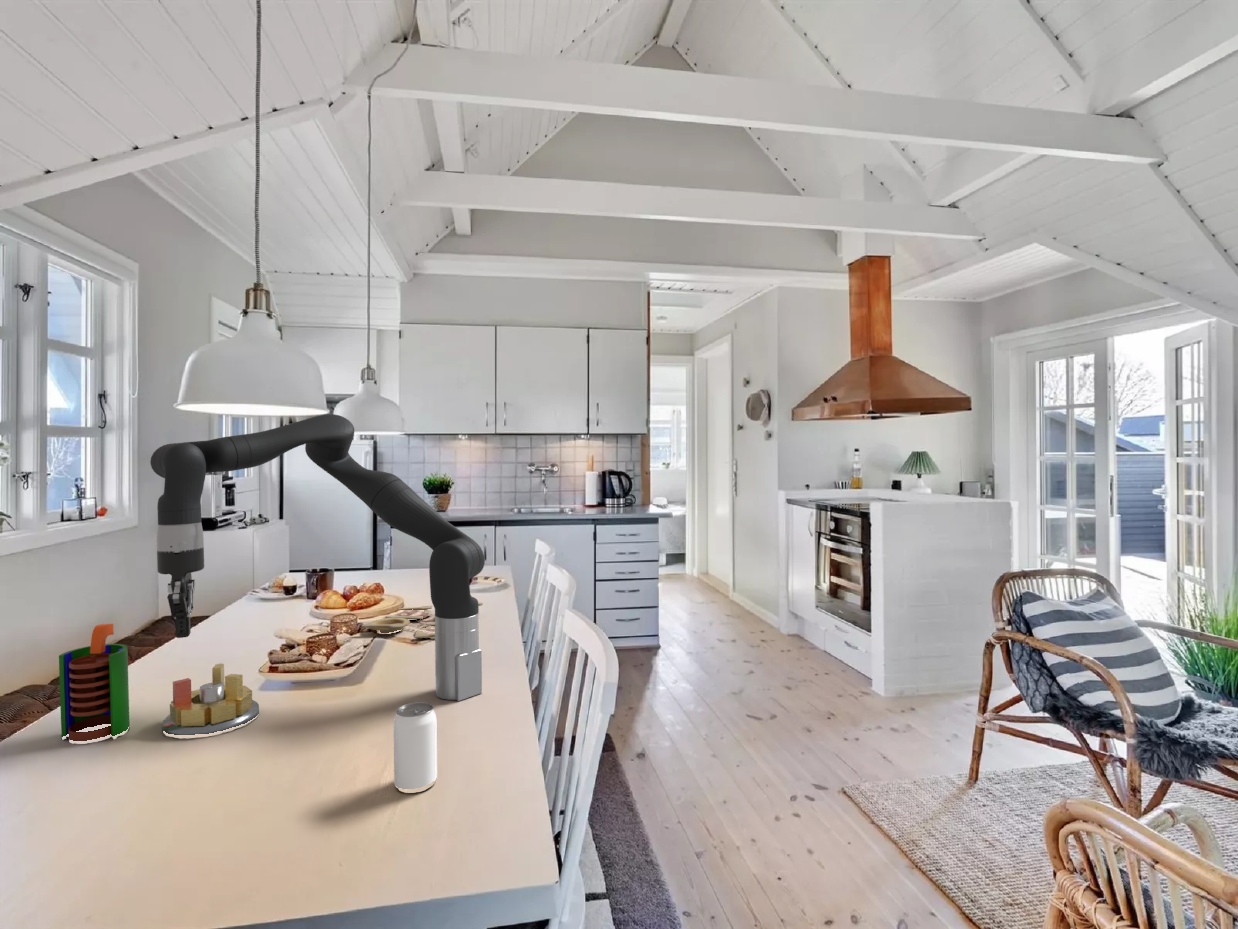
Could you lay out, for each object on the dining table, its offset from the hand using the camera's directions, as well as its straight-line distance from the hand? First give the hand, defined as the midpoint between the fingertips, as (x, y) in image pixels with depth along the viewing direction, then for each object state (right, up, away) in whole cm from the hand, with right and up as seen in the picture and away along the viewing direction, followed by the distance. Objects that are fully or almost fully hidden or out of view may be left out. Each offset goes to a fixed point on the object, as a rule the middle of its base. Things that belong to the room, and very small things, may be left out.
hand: (183, 636), depth 128 cm
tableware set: (+25, -16, +73) cm, 79 cm away
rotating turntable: (+5, -17, +2) cm, 18 cm away
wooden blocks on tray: (+5, -15, +2) cm, 16 cm away
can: (+52, -18, -23) cm, 60 cm away
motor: (-13, -17, -4) cm, 22 cm away
